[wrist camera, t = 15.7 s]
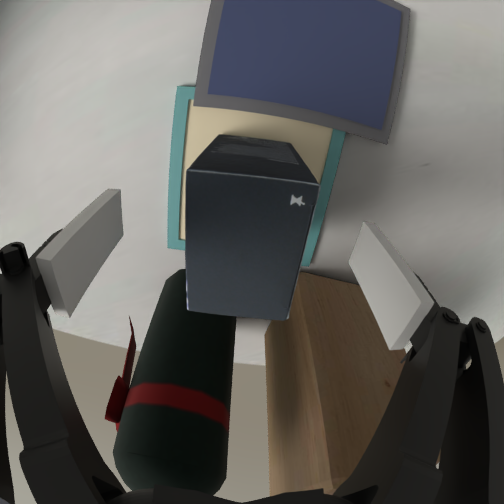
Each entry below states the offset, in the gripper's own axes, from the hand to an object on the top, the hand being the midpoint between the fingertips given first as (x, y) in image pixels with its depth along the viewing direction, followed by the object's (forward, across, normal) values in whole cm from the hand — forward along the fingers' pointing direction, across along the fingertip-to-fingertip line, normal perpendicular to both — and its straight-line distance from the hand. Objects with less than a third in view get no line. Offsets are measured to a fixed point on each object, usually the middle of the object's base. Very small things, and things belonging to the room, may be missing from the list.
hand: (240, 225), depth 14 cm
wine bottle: (+9, -4, -13) cm, 16 cm away
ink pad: (+9, +3, +12) cm, 15 cm away
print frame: (+8, +1, 0) cm, 9 cm away
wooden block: (+8, +10, -13) cm, 19 cm away
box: (+8, 0, 0) cm, 8 cm away
